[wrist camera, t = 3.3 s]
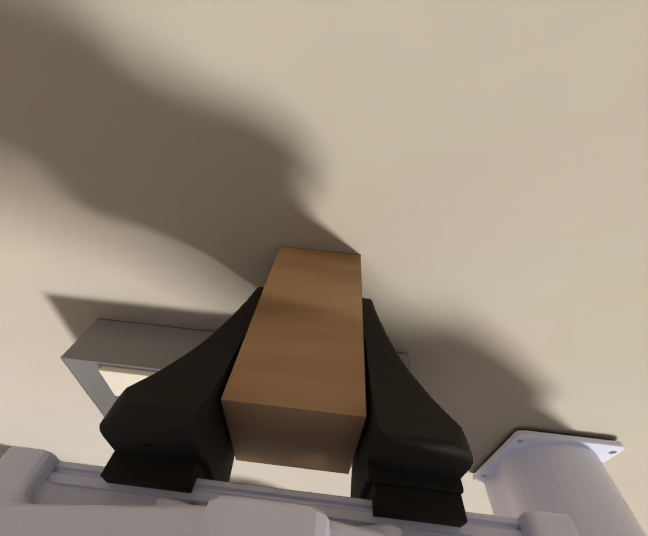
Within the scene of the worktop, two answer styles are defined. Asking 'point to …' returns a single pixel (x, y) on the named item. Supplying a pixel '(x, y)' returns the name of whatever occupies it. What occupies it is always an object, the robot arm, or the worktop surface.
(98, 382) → the socket block
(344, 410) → the plug
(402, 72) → the worktop surface
